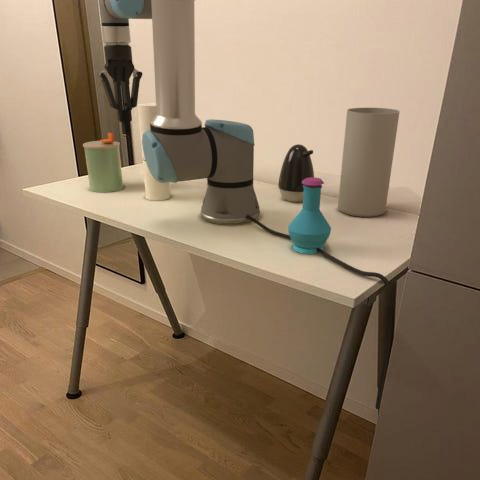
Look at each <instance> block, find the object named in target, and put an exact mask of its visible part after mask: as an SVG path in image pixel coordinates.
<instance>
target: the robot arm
mask: <svg viewBox="0 0 480 480" xmlns="http://www.w3.org/2000/svg"><path fill="white" fill-rule="evenodd" d="M195 2H196V0H98V7H99V16H100V23H101V32H102V41H103V43H104V44H105V45H104V46H103V51H104V52H103V53H104V60H105V64H104V69H103V70H101V71H100V72H97V77H98V78H99V80H100V81H101V83H102V87H103V89H104V91H105V95H106V98H107V101H108V104H109V108H111V109H115V110H116V113H117V121H118V122H119V123H121V132H122V134H125V135H130V134H131V126H130V122H132V119H133V117H132V110H133V109H135V108H137V107H138V99H139V91H140V84H141V83H140V81H141V79H142V77H143V72H142V71H139V70H138V69H137V68H135V64H134V63H133V53H132V52H133V51H132V46H131V45H130V44H131V42H132V40H131V31H130V20H151V24H152V25H151V26H152V45H153V67H154V69H153V70H154V88H155V89H154V90H155V103H156V114H155V116H154V117H153V118H152V119H151V120H150V131H149V130H148V131H146V132H144V133H143V136H142V137H143V138H142V146H143V152H144V156H145V160H146V163H147V166H148V168H149V171H150V173H151V174H152V176H153V177H154V179H155V180H157V181H158V182H160V183H170V184H171V183H173V184H177V183H179V182H181V183H182V182H187V181H188V182H189V181H196V180H197V181H198V180H206V188H205V189H206V190H205V192H204V196H203V198H202V201H201V203H202V204H201V207H200V218H201V219H202V220H203V221H205V222H208V223H211V224H215V225H226V226H227V225H230V226H231V225H233V226H235V225H244V224H249V223H254V224H255V225H257V226H258V227H260V228H262V229H263V230H264V231H266V232H267V233H269V234H272V235H274V236H277V237H280V238H284V239H288V240H291V238H290V236H289V234H288V233H287V234H286V233H283V232H280V231H277V230H273V229H272V228H269V227H268V226H266V224H263V223H262V222H261V221H259V220H258V219H259V218H260V217H261V208H260V205H259V201H258V197H257V194H256V190H255V188H254V167H255V165H254V162H255V161H254V160H255V159H254V157H255V137H254V129H253V127H252V126H251V125H250V124H247V123H243V122H239V121H232V120H225V119H214V118H213V119H212V118H211V119H206V120H205V122H204V126H203V122H202V120H201V119H200V118H199V117H198V115H197V114H196V57H195V56H196V52H195V51H196V47H195V45H196V43H195V40H196V39H195V36H196V33H195V30H196V29H195V28H196V27H195V24H196V23H195ZM109 77H110V78H111V80H112V84H113V90H114V93H113V90H112V86H111V84H110V81H109V79H108V78H109ZM131 77H133V78H132V84H131V89H130V83H131V82H130V79H131ZM317 252H319V253H318V254H320V255H322V256H323V257H325V258H326V259H328V260H330V261H331V262H334V263H335V264H337V265H339V266H341V267H342V268H345V269H346V270H348V271H350V272H352V273H354V274H357V275H359V276H363V277H371V278H377V279H379V280H381V281H382V283H384V285H385V286H388V287H390V286H391V282H390V281H389V279H388V278H387V277H386V276H385V275H383V274H381V273H379V272H375V271H364V270H361V269H359V268H356V267H354V266H352V265H349V264H348V263H346V262H344V261H342V260H340V259H339V258H337V257H335V256H333V255H331V254H330V253H328V252H326V251H324V249H323V250H321V249H320V248H317ZM392 314H393V313H392V307H387V308H386V336H385V346H384V354H383V360H382V366H381V370H380V378H379V381H378V388H377V394H376V402H375V409H376V410H380V407H381V400H382V394H383V388H384V383H385V377H386V372H387V367H388V362H389V361H388V360H389V355H390V349H391V348H390V347H391V337H392V320H393V318H392V316H393V315H392Z"/></svg>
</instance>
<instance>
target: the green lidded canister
mask: <svg viewBox="0 0 480 480" xmlns="http://www.w3.org/2000/svg"><path fill="white" fill-rule="evenodd" d="M120 143H121V142H119V141H117V140H115V142H110V143H104V142H101V141H100V140H93V141H92V140H91V141H86V142H84V143H82V147H83V148H84V154H85V155H84V156H85V162H86V170H87V175H88V176H87V177H88V183H89V190H90V191H92V192H95V193H113V192H118V191H121V190H123V189H124V180H123V172H122V171H123V170H122V162H121V153H120V152H121V151H120Z"/></svg>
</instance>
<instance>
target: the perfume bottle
mask: <svg viewBox="0 0 480 480" xmlns="http://www.w3.org/2000/svg"><path fill="white" fill-rule="evenodd" d="M302 183H303V184H304V185H303V188H304V193H303V201H302V208H301V209H300V211H299V212H298V213H297V214H296V216H295V217H294V218H293V220H292V221H291V222H290V223H289V224H288V226H287V230H288V231H287V232H288V235H289V236H290V238H291V239H290V241H291V243H292V250H293V251H295V252H297V253H300V254H306V255H315V254H320V253H319V252H317V248H320V249H321V250H323V251H324V246H325V245H326V244H327V241H328V239H329V237H330V235H331V232H332V227H331V225H330V224H329V222H328V220H327V219H326V217H325V216H324V214H323V213H322V211H321V210H320V207H321V193H322V189H323V185H324V184H325V182H324V180H323V179H321V178H320V177H315V176H314V177H310V178H305V179H304V180H303V181H302Z"/></svg>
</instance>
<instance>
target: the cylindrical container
mask: <svg viewBox="0 0 480 480" xmlns="http://www.w3.org/2000/svg"><path fill="white" fill-rule="evenodd" d="M137 113H138V114H137V115H138V125H139V137H140V147H141V148H140V149H141V156H142V157H141V158H142V169H143V170H142V171H143V180H144V192H145V193H144V194H145V199H146V200H150V201H166V200H168V199H171V183H160V182H158V181H157V180H155V179H154V177H153V176H152V174H151V173H150V171H149V168H148V166H147V163H146V160H145V156H144V152H143V146H142V138H143V137H142V136H143V133H144V132H146V131H148V130H149V131H150V120H151V119H152V118H153V117H154V116H155V114H156V102H143V103H137Z"/></svg>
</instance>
